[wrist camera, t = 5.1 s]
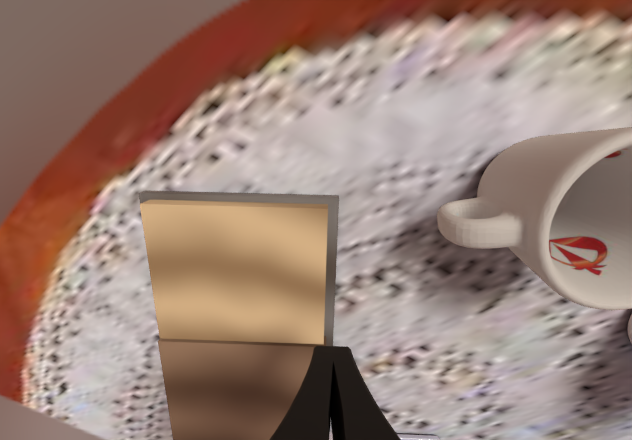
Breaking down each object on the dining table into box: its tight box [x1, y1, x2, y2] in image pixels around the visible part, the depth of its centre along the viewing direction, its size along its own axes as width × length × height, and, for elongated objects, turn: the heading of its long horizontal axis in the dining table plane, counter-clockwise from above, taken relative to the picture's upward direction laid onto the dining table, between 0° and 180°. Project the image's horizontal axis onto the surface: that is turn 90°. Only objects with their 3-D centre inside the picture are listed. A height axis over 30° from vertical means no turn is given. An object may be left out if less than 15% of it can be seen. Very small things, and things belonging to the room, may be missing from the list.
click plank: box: [140, 200, 328, 344], centre depth 21 cm, size 10×12×1 cm
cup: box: [437, 127, 632, 310], centre depth 17 cm, size 11×8×8 cm
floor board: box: [139, 191, 339, 440], centre depth 23 cm, size 21×13×2 cm, turn 179°
